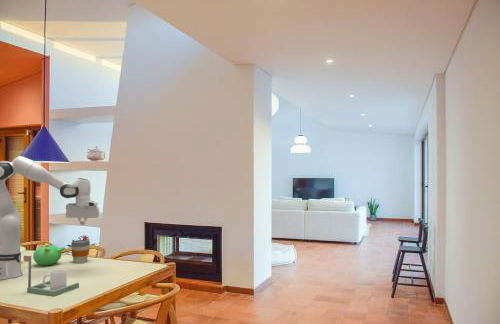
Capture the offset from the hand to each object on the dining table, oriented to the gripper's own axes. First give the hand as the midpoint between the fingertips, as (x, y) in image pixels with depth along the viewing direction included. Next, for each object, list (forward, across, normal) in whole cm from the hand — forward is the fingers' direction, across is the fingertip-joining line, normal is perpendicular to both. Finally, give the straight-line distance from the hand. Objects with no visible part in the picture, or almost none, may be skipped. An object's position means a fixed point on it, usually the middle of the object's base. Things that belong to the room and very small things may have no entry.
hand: (82, 224), depth 261 cm
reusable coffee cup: (+31, -8, +32) cm, 46 cm away
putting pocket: (+31, -8, -36) cm, 48 cm away
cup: (+31, -6, -36) cm, 48 cm away
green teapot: (+31, -28, +26) cm, 49 cm away
